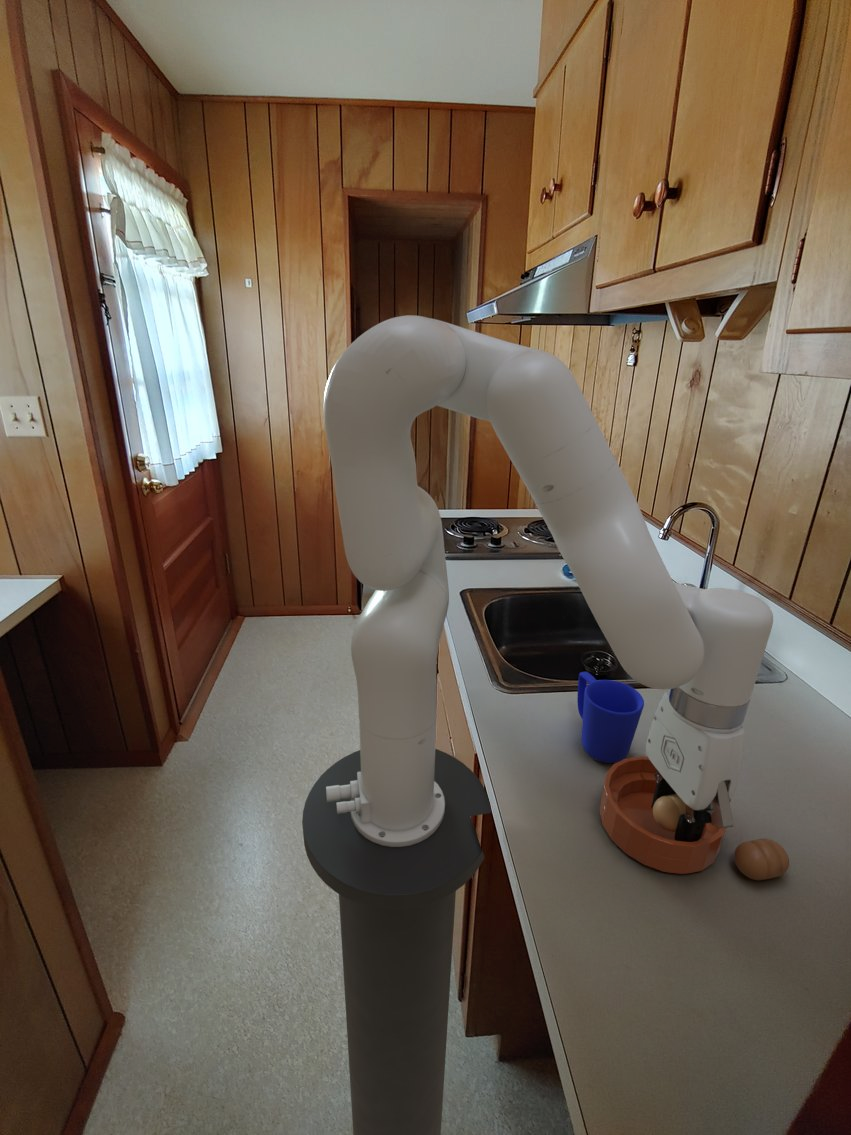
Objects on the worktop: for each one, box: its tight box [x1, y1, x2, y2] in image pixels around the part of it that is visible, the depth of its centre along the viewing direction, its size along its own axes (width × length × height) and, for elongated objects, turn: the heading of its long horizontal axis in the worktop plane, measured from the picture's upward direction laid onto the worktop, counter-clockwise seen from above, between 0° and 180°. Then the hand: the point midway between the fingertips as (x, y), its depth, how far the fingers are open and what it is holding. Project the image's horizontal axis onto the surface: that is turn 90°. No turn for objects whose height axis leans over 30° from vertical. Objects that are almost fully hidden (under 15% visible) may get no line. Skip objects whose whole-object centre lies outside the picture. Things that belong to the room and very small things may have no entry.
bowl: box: [598, 755, 728, 875], centre depth 69 cm, size 14×14×5 cm
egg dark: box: [733, 838, 790, 881], centre depth 64 cm, size 6×4×4 cm, turn 102°
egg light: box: [653, 794, 686, 832], centre depth 66 cm, size 6×4×4 cm, turn 102°
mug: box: [576, 671, 645, 764], centre depth 83 cm, size 8×12×10 cm
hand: (675, 822), depth 67 cm, fingers closed on egg light, 4 cm apart
